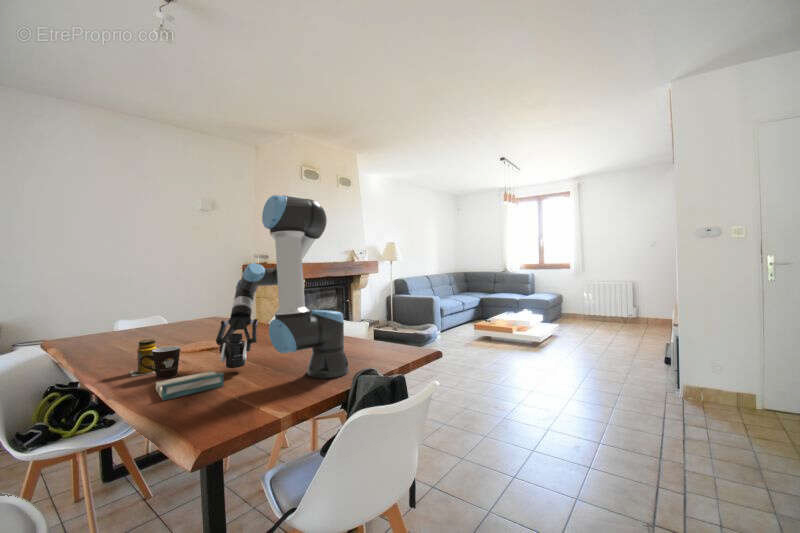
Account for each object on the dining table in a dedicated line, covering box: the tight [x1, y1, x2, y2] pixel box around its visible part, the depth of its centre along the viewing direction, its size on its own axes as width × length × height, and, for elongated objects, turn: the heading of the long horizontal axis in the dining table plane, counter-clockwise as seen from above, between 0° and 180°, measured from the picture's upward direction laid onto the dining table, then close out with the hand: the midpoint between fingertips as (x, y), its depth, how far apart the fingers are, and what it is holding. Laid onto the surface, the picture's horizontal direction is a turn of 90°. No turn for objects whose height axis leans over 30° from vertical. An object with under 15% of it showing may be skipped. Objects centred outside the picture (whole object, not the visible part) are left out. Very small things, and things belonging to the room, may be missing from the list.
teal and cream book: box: [155, 370, 224, 401], centre depth 115 cm, size 13×17×4 cm
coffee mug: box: [140, 345, 181, 380], centre depth 128 cm, size 12×9×10 cm
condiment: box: [129, 339, 158, 377], centre depth 133 cm, size 7×8×12 cm
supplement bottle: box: [225, 332, 246, 369], centre depth 131 cm, size 7×7×12 cm
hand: (233, 359), depth 128 cm, fingers closed on supplement bottle, 7 cm apart
